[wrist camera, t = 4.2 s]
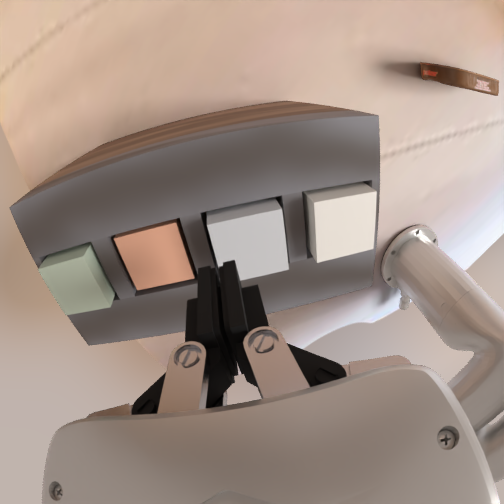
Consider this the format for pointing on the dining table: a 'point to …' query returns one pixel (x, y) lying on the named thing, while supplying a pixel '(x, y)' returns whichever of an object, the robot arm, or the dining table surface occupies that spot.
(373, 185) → the console
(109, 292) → the sage key
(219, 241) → the grey key
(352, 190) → the cream key
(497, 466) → the robot arm
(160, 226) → the terracotta key
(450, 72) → the tin
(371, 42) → the dining table surface
